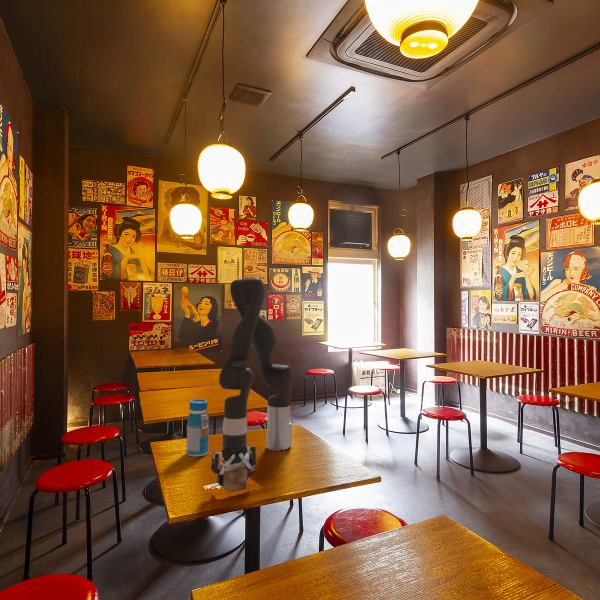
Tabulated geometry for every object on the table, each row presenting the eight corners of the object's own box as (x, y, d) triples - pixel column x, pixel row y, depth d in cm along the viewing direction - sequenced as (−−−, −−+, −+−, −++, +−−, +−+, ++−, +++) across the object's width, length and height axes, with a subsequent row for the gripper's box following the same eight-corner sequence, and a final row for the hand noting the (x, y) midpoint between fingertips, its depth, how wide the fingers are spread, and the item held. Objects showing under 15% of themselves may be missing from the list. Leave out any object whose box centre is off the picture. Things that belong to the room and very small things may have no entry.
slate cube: (247, 467, 151) (247, 453, 151) (253, 471, 147) (254, 457, 147) (234, 469, 149) (234, 455, 149) (240, 475, 144) (241, 460, 144)
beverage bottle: (185, 457, 158) (187, 404, 158) (186, 449, 167) (187, 398, 167) (208, 456, 160) (210, 403, 160) (208, 448, 169) (209, 398, 168)
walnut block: (238, 481, 138) (238, 463, 138) (246, 488, 133) (247, 469, 133) (221, 485, 135) (221, 466, 135) (229, 493, 130) (229, 473, 130)
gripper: (249, 424, 141) (248, 473, 141) (208, 430, 133) (207, 482, 133) (260, 430, 135) (259, 481, 135) (218, 437, 127) (216, 492, 127)
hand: (233, 482), depth 134 cm, fingers open, 8 cm apart
